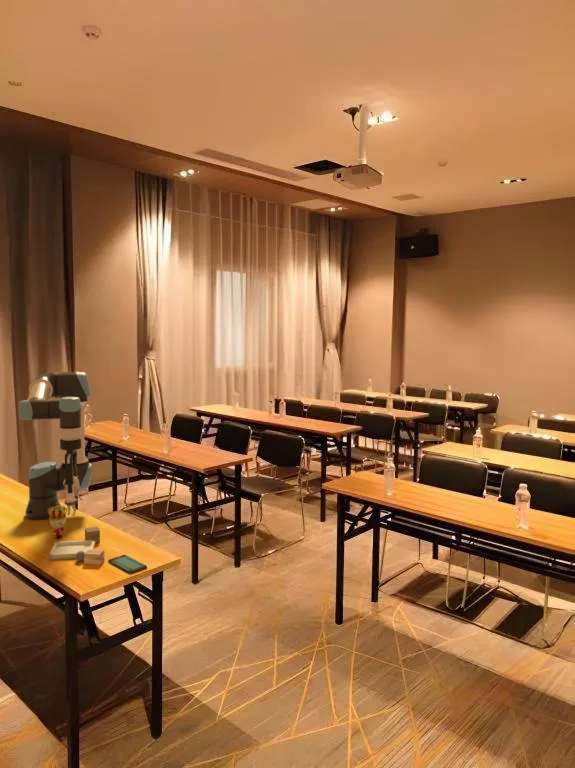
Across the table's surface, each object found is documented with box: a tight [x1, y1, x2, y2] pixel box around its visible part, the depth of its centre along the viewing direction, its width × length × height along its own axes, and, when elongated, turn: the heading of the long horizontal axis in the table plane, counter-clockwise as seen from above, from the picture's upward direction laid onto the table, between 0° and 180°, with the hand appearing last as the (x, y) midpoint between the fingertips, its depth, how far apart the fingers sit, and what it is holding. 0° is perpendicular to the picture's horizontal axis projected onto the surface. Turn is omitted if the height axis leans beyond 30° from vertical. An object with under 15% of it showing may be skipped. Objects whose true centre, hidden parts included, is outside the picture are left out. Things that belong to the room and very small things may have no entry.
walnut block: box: [84, 525, 101, 544], centre depth 230 cm, size 5×5×5 cm
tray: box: [48, 539, 96, 561], centre depth 219 cm, size 13×15×2 cm
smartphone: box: [107, 554, 148, 575], centre depth 208 cm, size 7×1×15 cm
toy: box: [48, 501, 68, 539], centre depth 232 cm, size 7×7×15 cm
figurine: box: [60, 476, 84, 517], centre depth 217 cm, size 10×6×15 cm, turn 70°
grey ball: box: [75, 551, 85, 562], centre depth 211 cm, size 4×4×4 cm
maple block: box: [83, 548, 106, 566], centre depth 210 cm, size 4×6×4 cm, turn 85°
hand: (71, 498), depth 217 cm, fingers closed on figurine, 6 cm apart
